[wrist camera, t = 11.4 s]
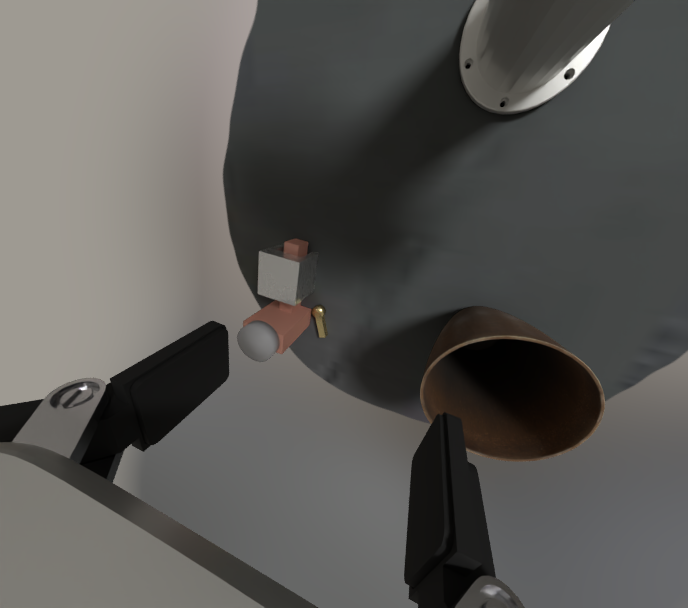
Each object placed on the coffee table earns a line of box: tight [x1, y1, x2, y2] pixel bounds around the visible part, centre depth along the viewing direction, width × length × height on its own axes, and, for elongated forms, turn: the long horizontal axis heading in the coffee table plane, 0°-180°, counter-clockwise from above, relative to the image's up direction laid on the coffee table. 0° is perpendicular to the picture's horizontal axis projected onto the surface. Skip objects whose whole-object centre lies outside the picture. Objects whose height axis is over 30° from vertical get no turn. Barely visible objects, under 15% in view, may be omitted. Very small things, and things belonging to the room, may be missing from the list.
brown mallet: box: [237, 238, 312, 362], centre depth 39 cm, size 17×7×12 cm, turn 168°
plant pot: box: [420, 306, 605, 461], centre depth 30 cm, size 15×15×16 cm
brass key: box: [312, 305, 328, 338], centre depth 45 cm, size 6×2×1 cm, turn 8°
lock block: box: [258, 243, 319, 306], centre depth 39 cm, size 7×7×7 cm
